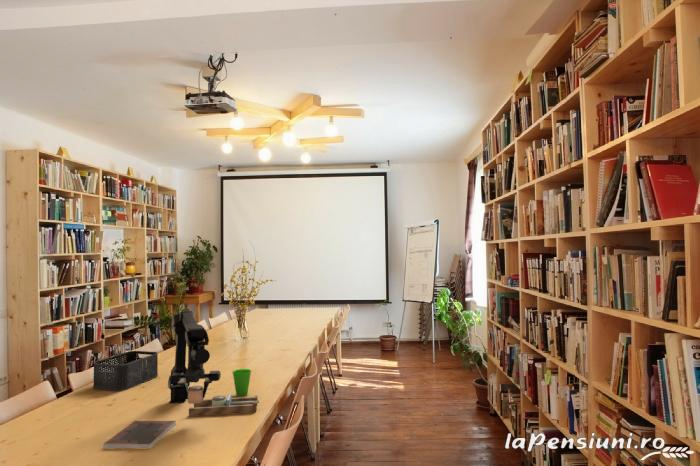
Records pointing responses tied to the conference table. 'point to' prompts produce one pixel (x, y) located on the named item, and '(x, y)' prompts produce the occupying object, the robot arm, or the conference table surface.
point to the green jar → (219, 401)
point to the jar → (195, 394)
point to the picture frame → (140, 434)
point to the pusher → (229, 402)
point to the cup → (241, 381)
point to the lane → (224, 407)
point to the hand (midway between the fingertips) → (195, 398)
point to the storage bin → (125, 370)
